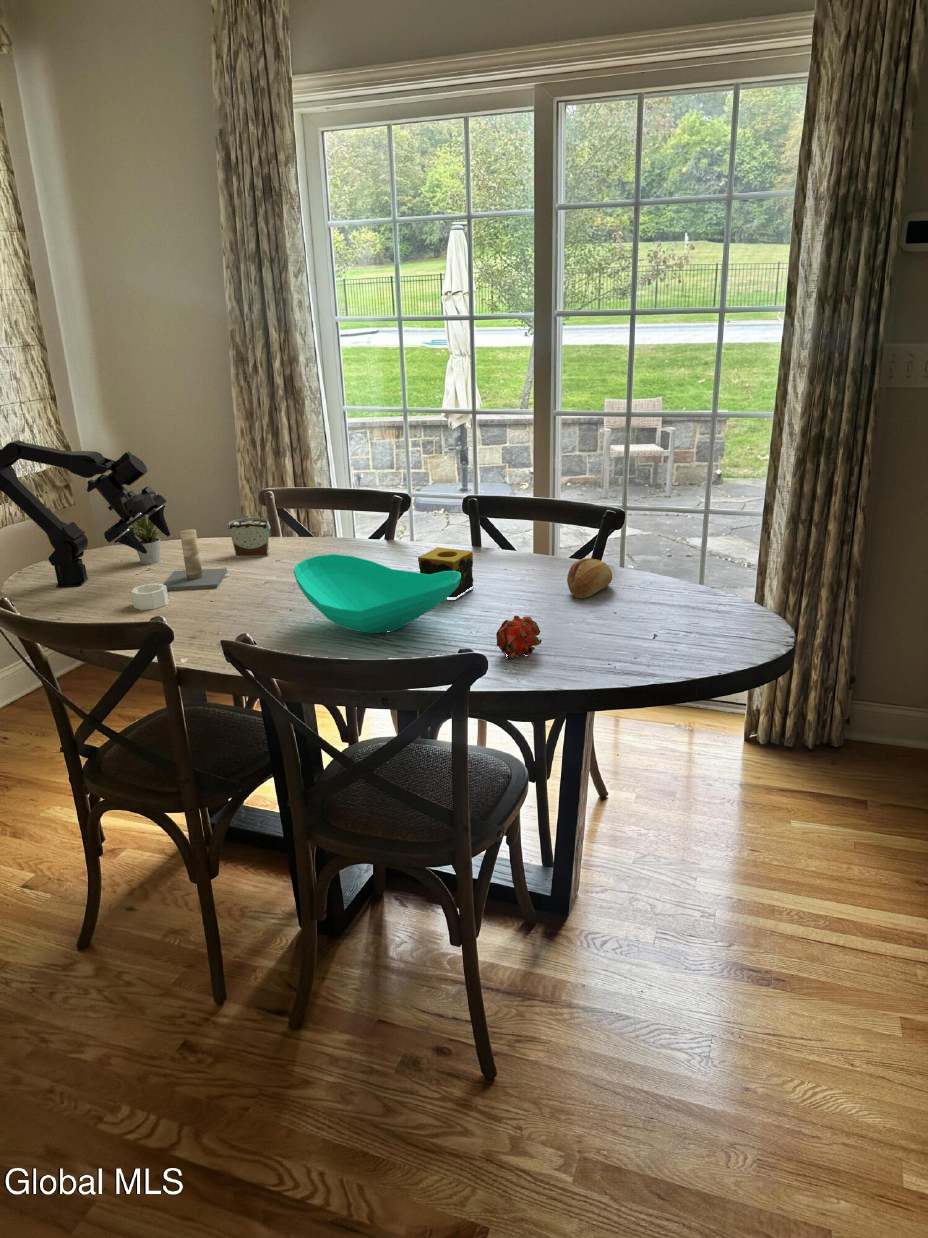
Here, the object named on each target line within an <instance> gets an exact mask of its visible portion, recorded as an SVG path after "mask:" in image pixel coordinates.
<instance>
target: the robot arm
mask: <svg viewBox="0 0 928 1238" xmlns="http://www.w3.org/2000/svg"><path fill="white" fill-rule="evenodd" d="M18 460H22V461H27V462H28V461H29V462H34V463H38V464H43V465H49V466H53V467H58V468H61V469H65V470H67V471H68V472H69V473H71V474H74V475H76V476H79V477H81V478H85V479H89V480H87V488H86V492H87V493H90V492H91V491H95V490H96V491H97V492H98V493H99V494H100V495H101V497H102V498H103V499H104V500H105V501H106V502H107V503H108V505H109V506H108V507H107V509H108V510H109V511H112V510H113V511H114V512H115V513H116V514H117V516H118V517H119V520H118V522H116V523H114V525H113V524H112V525H111V527H109V528H108V529H107V530H106V531H105V532H103V534H104V539H105V540H106V541H107V542H108V543H109V544H110V543H112V542H113V543H115V544H116V543H119V544H122V545H125V546H127V547H129V548H132V549H134V550H135V551H136V552H137V551H139V552H141V553H143V554H146V553H147V550H146V549H145V547H144V546H143V545H142V544H141V543H140V541H139V540H138V539H139V538H137V536H136V535H134V533H133V530H134V529H130V530H129V529H128V527H131V526H133V525H134V523H135V522H136V521H137V520H139V519H140V518H142V517H143V516H145V515H147V516H148V517H147V520H148V519H149V520H150V521H151V522H152V523H153V524H154V527H155V528H157V529H158V530H159V532H161V533H162V534H164V536H165V537H170V536H171V533H170V530H169V527H168V524H167V521H166V519H165V515H164V511H165V508H166V505H164V504H166V503H167V502H168V501H167V500H166V498H165V497H164V496H163V495H160V494H156V492H155V490H154V489H152V487H151V486H150V485H149V486H146V487H144V488H143V489H141V492H140V493H139V494H136V493H135V492H134V491H133V490H132V489H131V490H130V491H128V489H127V488H126V487H125V486H131V485H132V484H134V483H136V481H137V482H138V480H139V479H141V478H142V477H144V476H145V475H146V474H147V473H148V468H147V466H146V464H145V462H144V461H143V460H142V459H140V458H139V457H137V455H134V454H132V453H131V451H127V452H125V453H123V454H122V455H121V456H120V457H119V458H118V459H117V460H113V459H110V458H108V457H104V456H103V454H102V453H101V452H100V451H99V452H98V451H92V450H75V451H72V450H63V449H59V448H54V447H50V446H45V445H44V446H43V445H41V444H39V445H38V444H34V443H29V442H24V441H22V440H19V439H18V440H17V439H16V440H14V441H10V442H8V443H6V444H5V446H3V447H2V448H1V449H0V492H1V493H3V494H4V495H6V497H7V498H8V499H10V500H11V501H12V502H13V503H14V504H15V505H16V507H18V508H19V509H20V510H22V512H23V513H25V514H26V516H28V518H30V519H31V521H33V522H34V523H35V524H36V525H37V526H38V527H39V528H40V529H41V530H42V531H43V532H44V533H45V534H46V535H47V539H48V540H49V543H50V545H51V546H52V548H53V549H54V551H53V552H52V553H51V554H50V555H49V557H48V558H47V560H48V562H49V563H50V565H51V566H52V567H54V568H53V569H54V571H55V576H56V577H55V578H56V582H57V583H56V585H54V586H55V588H64V587H65V588H66V587H68V588H69V587H80V586H82V585H84V584H85V582H87V580H89V576H88V572H87V567H86V564H84V562H83V558H82V557H83V556H84V552H85V550H87V548H88V545H89V542H88V537H87V535H86V534H85V533H86V532H85V531H84V530H82V529H81V528H80V527H79V526H78V525H77V523H76V522H74V521H71V522H69V523H66V522H63V521H62V520H60V519H59V518H58V517H57V516H56V515H55V514H54V513H53V512H52V511H51V510H50V509H49V508H48V507H47V506H46V505H45V504H44V503H43V502H42V501H40V499H38V498H37V496H35V495H34V493H33V492H31V491H30V490H29V489H28V488H27V487H26V486H25V485H24V484H23V483H22V482H21V481H20V479H18V475H17V473H16V470H15V468H14V467H13V465H14V464H16V463H17V462H18ZM107 472H110V473H109V474H105V473H107ZM98 475H99V476H98ZM95 476H98V477H97V478H96V479H90V478H93V477H95ZM124 485H125V486H124ZM136 514H138V515H136ZM149 515H150V516H149ZM131 517H132V518H133V519H131ZM132 524H133V525H132ZM135 524H136V523H135Z"/></svg>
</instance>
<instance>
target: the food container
mask: <svg viewBox="0 0 928 1238" xmlns="http://www.w3.org/2000/svg"><path fill="white" fill-rule="evenodd" d="M227 530H229V532H230V535H231V540H232V544H233V549H234V550H233V551H234V553H235V557H236V556H245V557H269V555H270V554H269V530H271V524H270V522H269V520H268V519H267V518H264V517H245V518H239V519H238V518H236V519H234V520H230V521H229V522H228V524H227Z"/></svg>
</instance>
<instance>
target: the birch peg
mask: <svg viewBox="0 0 928 1238" xmlns="http://www.w3.org/2000/svg"><path fill="white" fill-rule="evenodd" d="M179 535H180V541H181V542H180V543H181V549H182V553H183V554H182V555H183V561H184V567H185V570H186V575H187V579H189V580H196V579H200V578H202V577H203V574H202V570H203V569H202V562H201V555H200V547H199V542H198V535H197V530H196V529H193V528H192V529H191V528H190V529H183V530H180V531H179Z"/></svg>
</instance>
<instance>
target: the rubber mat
mask: <svg viewBox="0 0 928 1238" xmlns="http://www.w3.org/2000/svg"><path fill="white" fill-rule="evenodd" d="M226 572H227V573H228V568H227V567H223V568H222V567H221V568H206V569H202V574H203V577H202V578H200V579H196V580H189V579H187V575H186V569H185V570H174V571H173V572H171V575H169V577H168V578H167V580H165V582H164V583H162V584H163V585H166V587H167V592H168V591H170V592H171V591H186V590H188V591H189V590H191V591H192V590H203V589H205V590H206V589H207V590H208V589H218V588H217V587H219V586H220V585H221V583H222V581H223V580H224V578H225V576H226V575H227V573H226ZM225 574H226V575H225ZM223 577H224V578H223ZM222 579H223V580H222ZM220 582H221V583H220ZM219 584H220V585H219Z"/></svg>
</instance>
